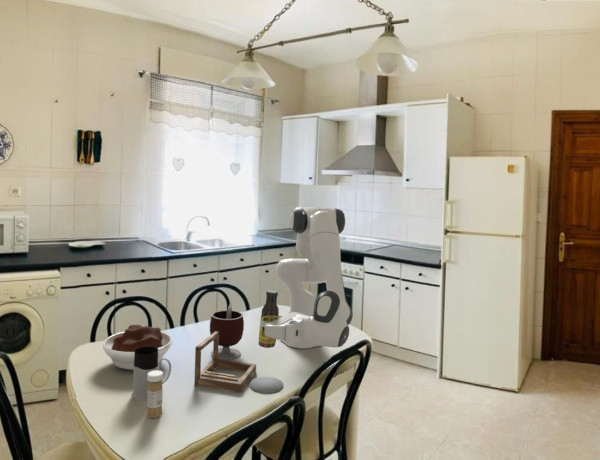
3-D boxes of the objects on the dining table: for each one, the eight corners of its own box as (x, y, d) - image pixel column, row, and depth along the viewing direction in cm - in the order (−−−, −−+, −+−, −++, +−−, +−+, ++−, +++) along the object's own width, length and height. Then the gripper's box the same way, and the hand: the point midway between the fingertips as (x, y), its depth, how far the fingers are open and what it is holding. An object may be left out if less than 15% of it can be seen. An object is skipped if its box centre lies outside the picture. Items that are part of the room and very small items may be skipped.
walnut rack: (214, 365, 178) (215, 331, 177) (255, 371, 175) (257, 336, 174) (194, 385, 161) (195, 347, 159) (240, 392, 158) (241, 353, 156)
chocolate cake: (115, 384, 159) (115, 342, 157) (94, 360, 178) (94, 322, 176) (182, 368, 175) (183, 330, 173) (156, 347, 194) (157, 313, 192)
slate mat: (255, 376, 171) (255, 374, 171) (286, 380, 169) (286, 379, 169) (244, 390, 159) (244, 388, 159) (278, 395, 157) (278, 393, 157)
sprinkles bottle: (157, 409, 143) (158, 368, 142) (165, 415, 140) (166, 373, 139) (143, 414, 140) (144, 372, 138) (151, 420, 137) (152, 377, 135)
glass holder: (144, 385, 159) (144, 344, 157) (178, 394, 154) (179, 351, 152) (125, 396, 151) (126, 352, 149) (161, 406, 146) (162, 360, 144)
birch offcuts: (206, 379, 166) (206, 370, 166) (239, 384, 164) (239, 375, 163) (202, 383, 163) (202, 374, 162) (235, 388, 160) (235, 379, 160)
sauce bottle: (259, 349, 159) (263, 293, 156) (256, 342, 165) (260, 288, 162) (278, 348, 160) (282, 293, 158) (274, 341, 166) (278, 288, 164)
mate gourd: (239, 362, 183) (241, 313, 181) (205, 360, 184) (207, 311, 181) (245, 348, 199) (247, 303, 197) (213, 346, 199) (215, 301, 197)
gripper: (315, 311, 165) (281, 305, 171) (288, 326, 146) (251, 318, 152) (314, 328, 165) (280, 321, 171) (287, 345, 147) (251, 336, 153)
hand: (266, 320), depth 162 cm, fingers closed on sauce bottle, 6 cm apart
